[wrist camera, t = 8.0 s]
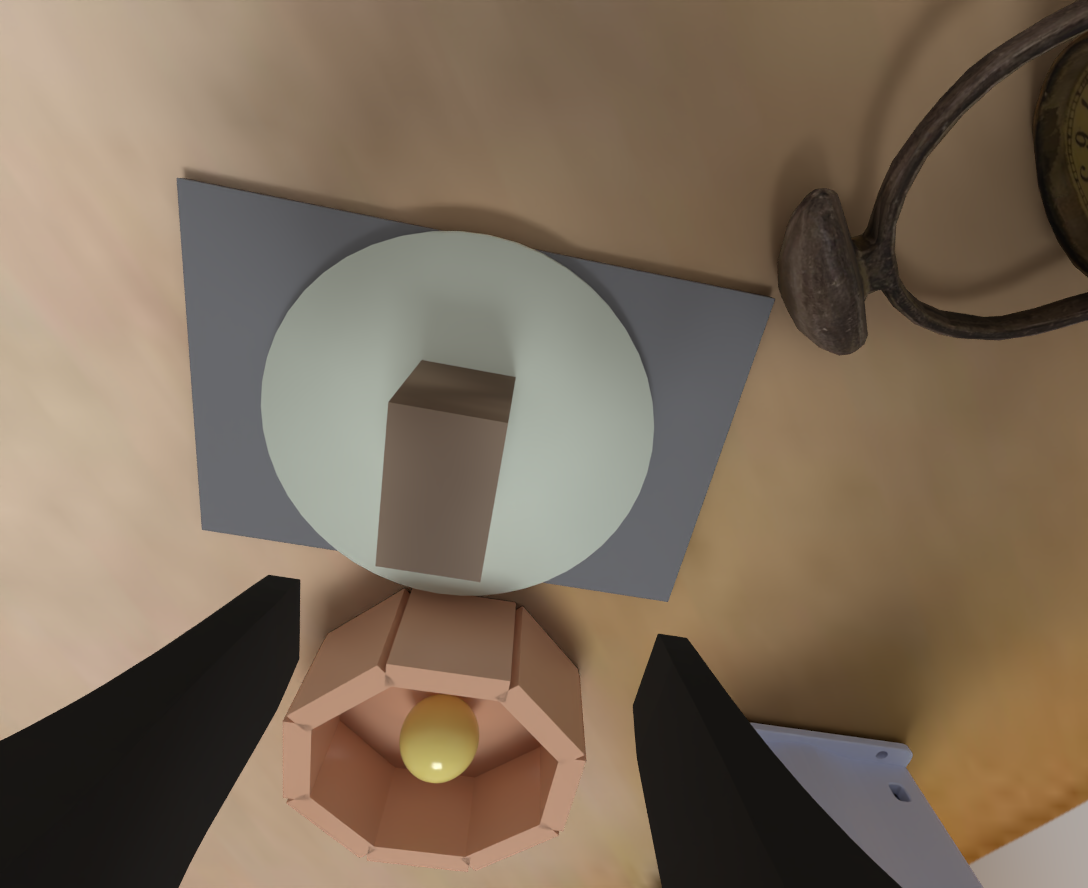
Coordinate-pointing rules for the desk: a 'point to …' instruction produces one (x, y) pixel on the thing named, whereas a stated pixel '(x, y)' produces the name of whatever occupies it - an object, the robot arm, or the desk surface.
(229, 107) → the desk surface
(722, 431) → the mat
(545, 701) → the bowl
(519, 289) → the lid
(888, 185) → the dark brown handled piece
